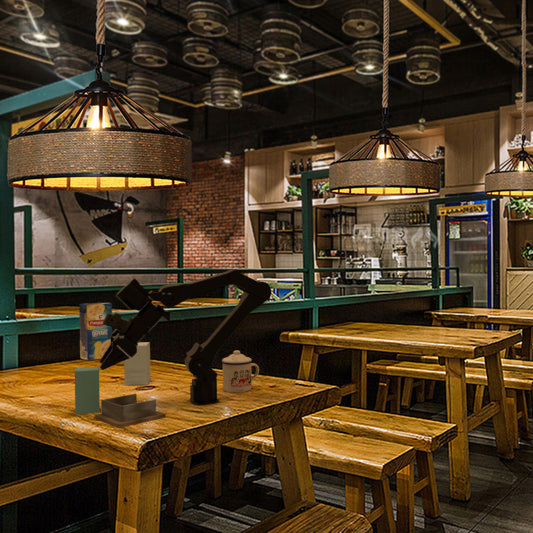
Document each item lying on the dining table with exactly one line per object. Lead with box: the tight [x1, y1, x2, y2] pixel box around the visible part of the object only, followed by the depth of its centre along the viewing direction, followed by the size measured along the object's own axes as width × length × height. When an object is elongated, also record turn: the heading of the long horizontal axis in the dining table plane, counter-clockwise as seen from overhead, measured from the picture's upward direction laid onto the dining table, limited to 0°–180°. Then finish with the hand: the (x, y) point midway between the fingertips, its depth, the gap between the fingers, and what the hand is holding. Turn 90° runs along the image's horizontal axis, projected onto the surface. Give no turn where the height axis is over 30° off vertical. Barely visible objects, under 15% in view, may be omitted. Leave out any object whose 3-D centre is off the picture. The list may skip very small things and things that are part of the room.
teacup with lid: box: [221, 350, 260, 393], centre depth 178 cm, size 12×9×12 cm
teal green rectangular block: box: [74, 366, 101, 415], centre depth 154 cm, size 6×5×11 cm
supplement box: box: [123, 341, 152, 386], centre depth 189 cm, size 7×7×13 cm
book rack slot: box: [93, 393, 166, 429], centre depth 147 cm, size 13×12×4 cm
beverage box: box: [78, 302, 113, 361], centre depth 241 cm, size 7×11×22 cm, turn 133°
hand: (101, 365), depth 155 cm, fingers open, 9 cm apart
